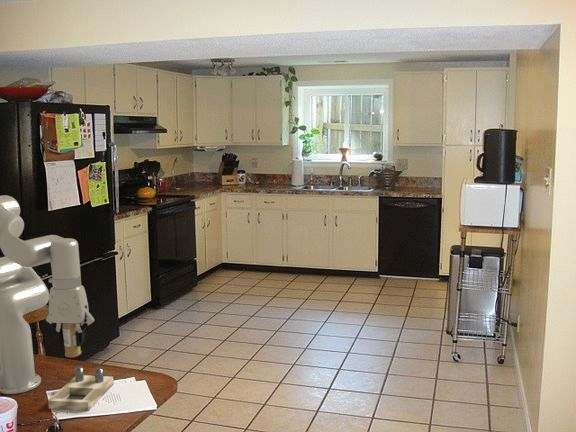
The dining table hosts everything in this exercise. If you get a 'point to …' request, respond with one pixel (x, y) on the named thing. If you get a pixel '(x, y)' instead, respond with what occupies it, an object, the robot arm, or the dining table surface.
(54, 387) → the dining table surface
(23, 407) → the dining table surface
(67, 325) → the sprinkles bottle
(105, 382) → the cream square frame
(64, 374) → the dining table surface
